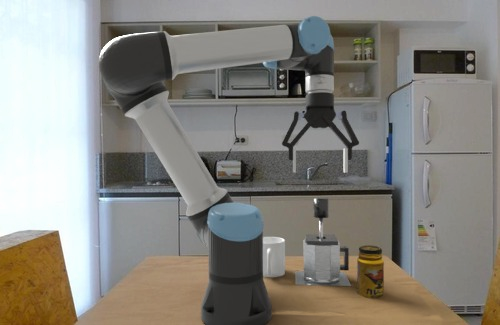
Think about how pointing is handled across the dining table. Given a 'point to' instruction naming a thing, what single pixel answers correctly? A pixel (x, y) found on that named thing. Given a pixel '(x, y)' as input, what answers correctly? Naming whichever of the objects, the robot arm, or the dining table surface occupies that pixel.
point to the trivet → (301, 281)
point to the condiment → (370, 272)
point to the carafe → (323, 259)
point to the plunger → (320, 212)
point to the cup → (273, 256)
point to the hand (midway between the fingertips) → (319, 172)
